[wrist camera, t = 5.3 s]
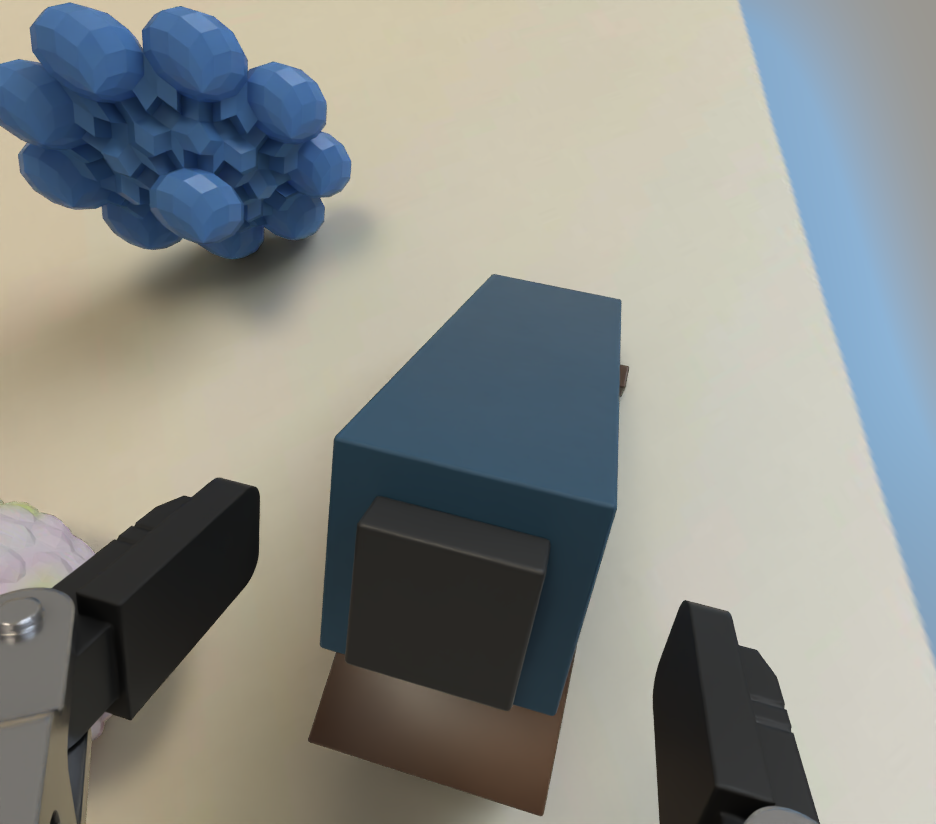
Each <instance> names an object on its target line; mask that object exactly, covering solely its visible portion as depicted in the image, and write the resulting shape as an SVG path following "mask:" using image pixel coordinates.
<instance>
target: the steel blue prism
mask: <svg viewBox="0 0 936 824" xmlns="http://www.w3.org/2000/svg"><path fill="white" fill-rule="evenodd" d="M620 341H621V300H620V299H615V298H610V297H605V296H600V295H595V294H590V293H585V292H580V291H575V290H570V289H565V288H560V287H555V286H550V285H545V284H540V283H535V282H530V281H525V280H520V279H515V278H510V277H505V276H501V275H496V274H493V275H491V277H490V278H489V279H488V280H487V281H486V282H485V283H484V284H483V285H482V286H481V287H480V288H479V289H478V290H477V291H476V292H475V293H474V294H473V295H472V296H471V297H470V298H469V299H468V300H467V301H466V302H465V303H464V304H463V305H462V306H461V307H460V308H459V309H458V311H457V312H456V313H455V314H454V315H453V316H452V317H451V318H450V319H449V320H448V321H447V322H446V323H445V324H444V325H443V326H442V327H441V328H440V329H439V330H438V331H437V332H436V333H435V334H434V335H433V336H432V337H431V338H430V339H429V340H428V341H427V342H426V343H425V345H424V346H423V347H422V348H421V349H420V350H419V351H418V352H417V353H416V354H415V355H414V356H413V357H412V358H411V359H410V360H409V361H408V362H407V363H406V364H405V365H404V366H403V367H402V368H401V369H400V370H399V371H398V372H397V373H396V374H395V375H394V376H393V377H392V378H391V380H390V381H389V382H388V383H387V384H386V385H385V386H384V387H383V388H382V389H381V390H380V391H379V392H378V393H377V394H376V395H375V396H374V397H373V398H372V399H371V400H370V401H369V402H368V403H367V404H366V405H365V406H364V407H363V408H362V409H361V410H360V411H359V412H358V414H357V415H356V416H355V417H354V418H353V419H352V420H351V421H350V422H349V423H348V424H347V425H346V426H345V427H344V428H343V429H342V430H341V431H340V432H339V433H338V434H337V435H336V436H335V438H334V447H333V461H332V476H331V490H330V505H329V520H328V534H327V549H326V563H325V578H324V593H323V607H322V622H321V636H320V646H321V647H322V648H324V649H328V650H331V651H335V652H338V653H341V654H345V662H346V663H348V664H350V665H353V666H357V667H360V668H363V669H367V670H370V671H374V672H377V673H380V674H384V675H387V676H390V677H394V678H397V679H400V680H404V681H407V682H410V683H414V684H417V685H420V686H424V687H427V688H430V689H434V690H437V691H440V692H444V693H447V694H450V695H454V696H457V697H460V698H464V699H467V700H470V701H474V702H477V703H480V704H484V705H487V706H490V707H494V708H497V709H501V710H504V711H509V710H510V709H511V708H512V706H513V705H516V706H520V707H523V708H526V709H530V710H533V711H536V712H540V713H543V714H546V715H550V716H554V715H555V714H556V713H557V709H558V706H559V702H560V699H561V696H562V692H563V689H564V686H565V682H566V679H567V675H568V672H569V669H570V665H571V662H572V659H573V655H574V652H575V648H576V645H577V642H578V638H579V635H580V632H581V628H582V625H583V621H584V618H585V615H586V611H587V608H588V604H589V601H590V598H591V594H592V591H593V588H594V584H595V581H596V577H597V574H598V571H599V567H600V564H601V561H602V557H603V554H604V550H605V547H606V544H607V540H608V537H609V533H610V530H611V527H612V523H613V520H614V517H615V513H616V510H617V477H618V432H619V386H620Z"/></svg>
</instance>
